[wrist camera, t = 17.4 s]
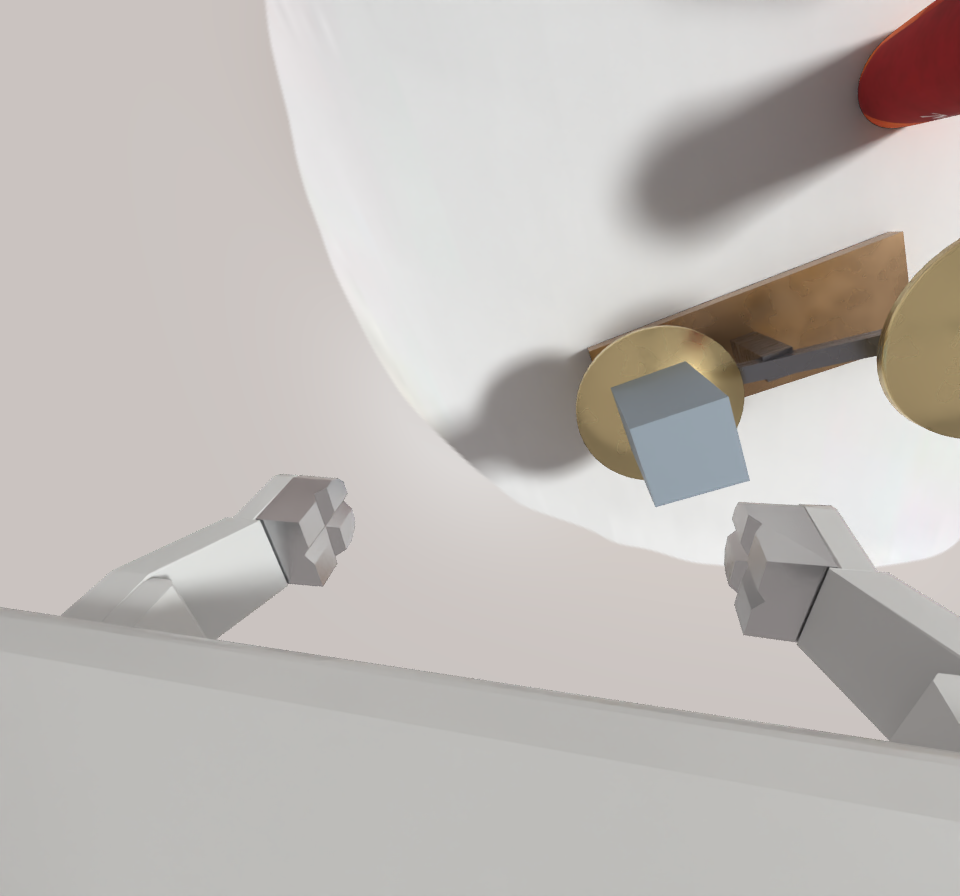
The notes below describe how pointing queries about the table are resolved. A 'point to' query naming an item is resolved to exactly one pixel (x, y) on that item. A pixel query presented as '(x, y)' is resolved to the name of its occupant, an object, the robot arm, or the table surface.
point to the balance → (799, 340)
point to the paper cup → (915, 70)
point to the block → (680, 433)
